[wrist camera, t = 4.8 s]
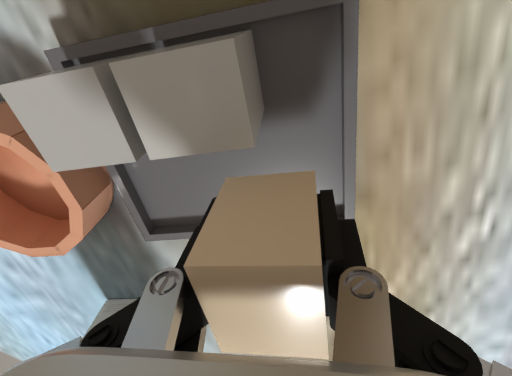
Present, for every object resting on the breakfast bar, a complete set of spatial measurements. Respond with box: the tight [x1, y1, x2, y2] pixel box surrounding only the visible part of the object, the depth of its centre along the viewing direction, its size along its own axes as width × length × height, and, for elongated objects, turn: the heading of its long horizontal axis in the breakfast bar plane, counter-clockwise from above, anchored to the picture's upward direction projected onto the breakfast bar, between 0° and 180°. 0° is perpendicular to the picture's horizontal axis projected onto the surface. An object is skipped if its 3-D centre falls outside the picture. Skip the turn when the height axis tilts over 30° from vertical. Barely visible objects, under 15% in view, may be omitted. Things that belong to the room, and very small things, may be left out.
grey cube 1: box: [109, 29, 264, 160], centre depth 12 cm, size 4×4×5 cm
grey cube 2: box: [0, 50, 152, 172], centre depth 13 cm, size 4×4×5 cm
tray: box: [44, 0, 359, 241], centre depth 16 cm, size 15×13×1 cm
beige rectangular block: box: [183, 170, 329, 359], centre depth 10 cm, size 4×4×5 cm
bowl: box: [0, 101, 114, 257], centre depth 18 cm, size 10×10×4 cm
